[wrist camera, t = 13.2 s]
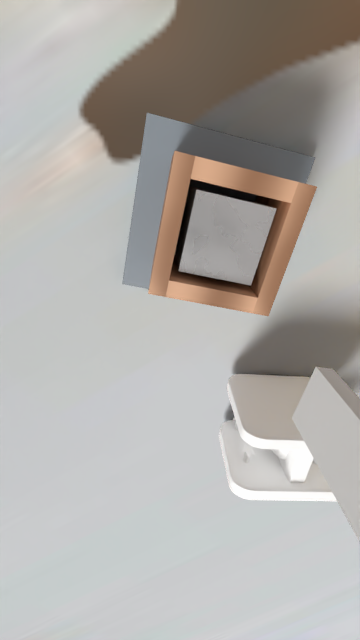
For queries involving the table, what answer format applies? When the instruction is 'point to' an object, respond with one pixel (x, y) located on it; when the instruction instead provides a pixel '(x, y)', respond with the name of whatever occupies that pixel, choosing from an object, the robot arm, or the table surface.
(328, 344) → the table surface
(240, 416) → the cable organizer
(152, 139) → the slate board
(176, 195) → the open wooden box
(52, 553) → the table surface
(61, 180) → the table surface
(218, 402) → the table surface
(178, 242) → the square post
